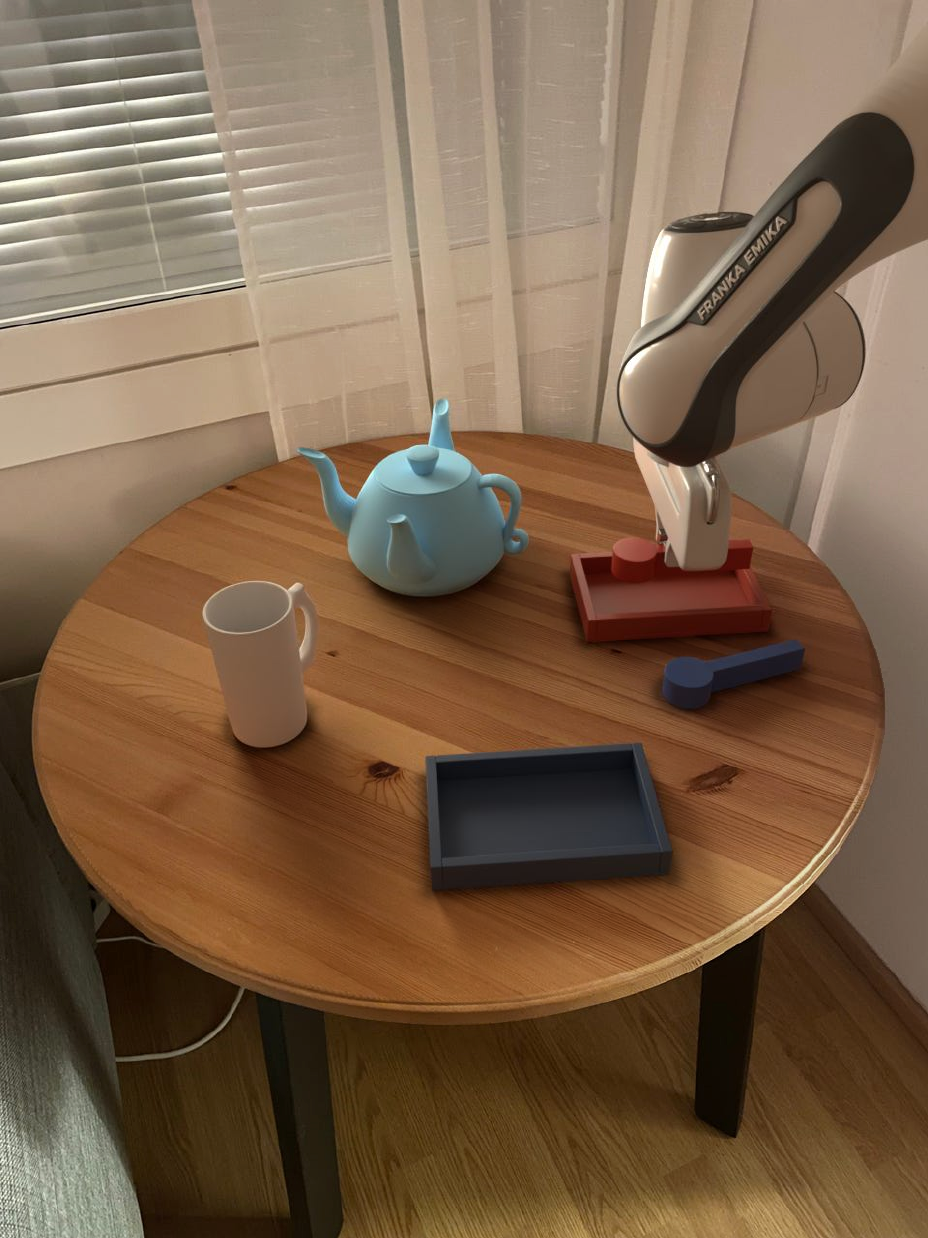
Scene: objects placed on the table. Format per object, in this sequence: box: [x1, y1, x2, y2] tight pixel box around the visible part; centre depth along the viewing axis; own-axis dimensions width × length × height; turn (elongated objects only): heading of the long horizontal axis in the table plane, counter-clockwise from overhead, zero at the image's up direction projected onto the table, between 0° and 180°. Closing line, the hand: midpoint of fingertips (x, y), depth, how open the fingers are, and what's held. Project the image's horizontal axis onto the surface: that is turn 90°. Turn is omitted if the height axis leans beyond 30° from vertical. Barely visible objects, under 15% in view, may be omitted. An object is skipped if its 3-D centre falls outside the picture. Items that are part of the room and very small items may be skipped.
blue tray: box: [424, 742, 673, 892], centre depth 73 cm, size 17×11×2 cm, turn 94°
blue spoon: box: [661, 638, 806, 710], centre depth 85 cm, size 13×4×2 cm, turn 109°
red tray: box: [569, 551, 773, 643], centre depth 94 cm, size 17×11×2 cm, turn 94°
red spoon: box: [611, 537, 754, 583], centre depth 92 cm, size 13×4×2 cm, turn 93°
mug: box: [201, 580, 319, 748], centre depth 81 cm, size 10×7×12 cm, turn 143°
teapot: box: [296, 398, 530, 598], centre depth 98 cm, size 17×19×12 cm
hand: (669, 553), depth 92 cm, fingers closed on red spoon, 1 cm apart
